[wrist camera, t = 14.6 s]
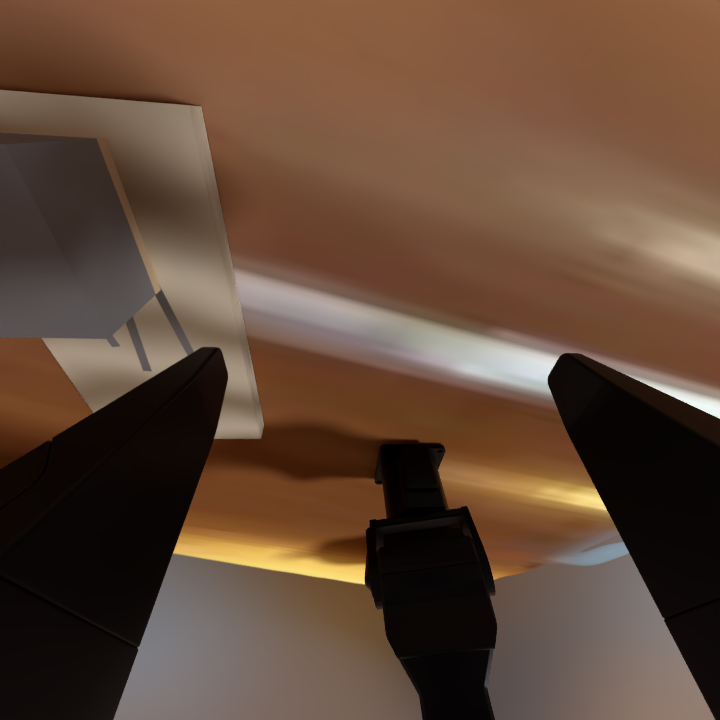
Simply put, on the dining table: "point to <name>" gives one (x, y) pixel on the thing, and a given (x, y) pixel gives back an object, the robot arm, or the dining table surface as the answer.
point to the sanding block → (67, 240)
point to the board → (156, 250)
